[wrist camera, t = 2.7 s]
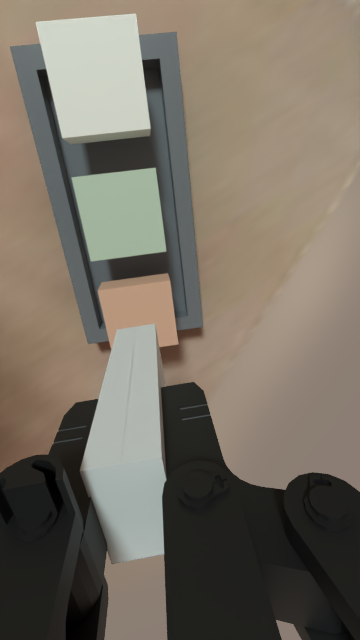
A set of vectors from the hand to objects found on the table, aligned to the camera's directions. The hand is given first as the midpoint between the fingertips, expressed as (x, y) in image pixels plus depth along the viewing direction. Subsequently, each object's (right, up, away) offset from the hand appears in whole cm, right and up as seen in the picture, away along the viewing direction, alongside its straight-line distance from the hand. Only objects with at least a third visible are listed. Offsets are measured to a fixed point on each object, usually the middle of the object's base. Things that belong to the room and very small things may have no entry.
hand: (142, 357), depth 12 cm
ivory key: (-3, +16, +7) cm, 18 cm away
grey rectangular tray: (-3, +10, +12) cm, 16 cm away
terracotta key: (-2, +3, +13) cm, 13 cm away
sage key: (-3, +9, +10) cm, 14 cm away
